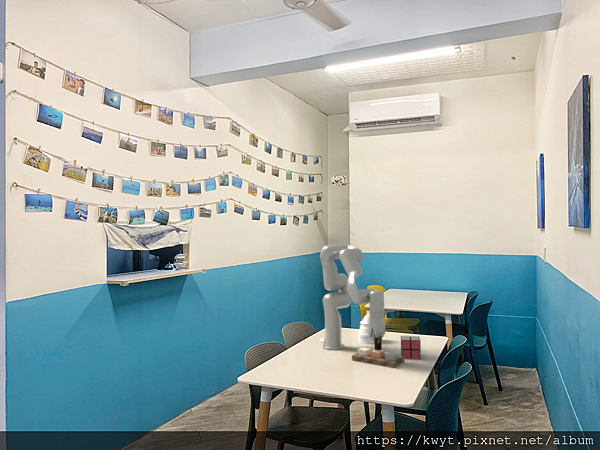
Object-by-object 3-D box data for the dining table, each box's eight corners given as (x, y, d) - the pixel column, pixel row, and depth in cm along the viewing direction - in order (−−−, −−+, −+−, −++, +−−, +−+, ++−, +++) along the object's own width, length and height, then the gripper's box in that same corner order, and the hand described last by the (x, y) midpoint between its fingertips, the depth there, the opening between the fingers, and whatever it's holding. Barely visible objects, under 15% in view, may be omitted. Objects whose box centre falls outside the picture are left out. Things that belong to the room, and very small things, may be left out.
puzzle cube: (420, 359, 239) (420, 340, 240) (401, 358, 241) (400, 339, 242) (419, 354, 249) (419, 336, 249) (401, 353, 251) (400, 335, 251)
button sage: (385, 359, 232) (385, 353, 232) (389, 357, 236) (389, 351, 236) (394, 361, 229) (394, 355, 229) (398, 359, 233) (398, 353, 233)
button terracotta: (371, 357, 237) (371, 351, 237) (375, 355, 241) (375, 349, 241) (379, 358, 234) (379, 353, 234) (384, 356, 238) (384, 350, 238)
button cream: (357, 355, 242) (357, 349, 242) (362, 353, 246) (362, 347, 246) (366, 356, 239) (366, 350, 239) (370, 354, 243) (370, 348, 243)
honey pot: (360, 338, 288) (360, 309, 289) (381, 339, 284) (380, 310, 284) (356, 343, 276) (355, 313, 277) (377, 344, 272) (376, 314, 272)
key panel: (352, 360, 240) (351, 355, 240) (363, 355, 249) (363, 350, 249) (393, 368, 225) (393, 363, 225) (404, 362, 235) (404, 357, 235)
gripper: (377, 311, 246) (378, 346, 245) (363, 316, 234) (364, 352, 233) (390, 312, 241) (391, 347, 241) (376, 317, 229) (377, 354, 229)
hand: (378, 349), depth 237 cm, fingers closed
